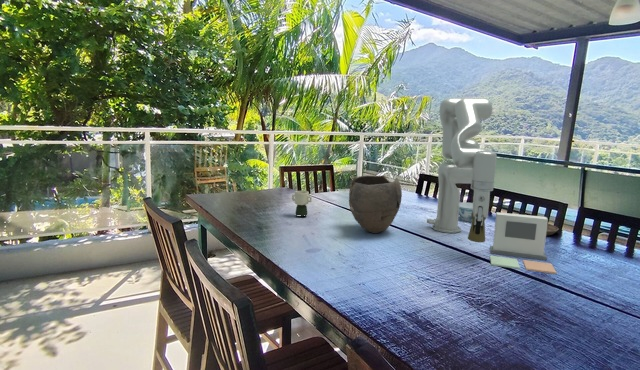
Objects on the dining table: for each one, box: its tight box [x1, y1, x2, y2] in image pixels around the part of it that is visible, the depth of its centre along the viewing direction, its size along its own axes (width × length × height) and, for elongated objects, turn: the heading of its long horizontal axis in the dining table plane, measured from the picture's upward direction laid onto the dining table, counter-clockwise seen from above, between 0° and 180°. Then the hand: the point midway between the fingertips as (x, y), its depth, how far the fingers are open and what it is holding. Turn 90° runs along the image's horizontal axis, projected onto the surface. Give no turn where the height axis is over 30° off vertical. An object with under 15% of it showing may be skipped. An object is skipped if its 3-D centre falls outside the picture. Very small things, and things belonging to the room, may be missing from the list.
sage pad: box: [489, 255, 521, 270], centre depth 138 cm, size 9×9×1 cm
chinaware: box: [459, 201, 473, 222], centre depth 199 cm, size 15×15×8 cm
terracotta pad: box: [522, 259, 557, 275], centre depth 134 cm, size 9×9×1 cm
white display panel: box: [489, 211, 549, 261], centre depth 146 cm, size 19×6×15 cm, turn 69°
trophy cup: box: [291, 190, 313, 216], centre depth 197 cm, size 11×7×13 cm, turn 69°
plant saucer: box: [546, 222, 559, 237], centre depth 181 cm, size 21×21×3 cm
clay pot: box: [348, 175, 403, 234], centre depth 171 cm, size 24×24×25 cm
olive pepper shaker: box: [467, 212, 487, 243], centre depth 141 cm, size 6×6×11 cm
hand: (477, 233), depth 142 cm, fingers closed on olive pepper shaker, 3 cm apart
